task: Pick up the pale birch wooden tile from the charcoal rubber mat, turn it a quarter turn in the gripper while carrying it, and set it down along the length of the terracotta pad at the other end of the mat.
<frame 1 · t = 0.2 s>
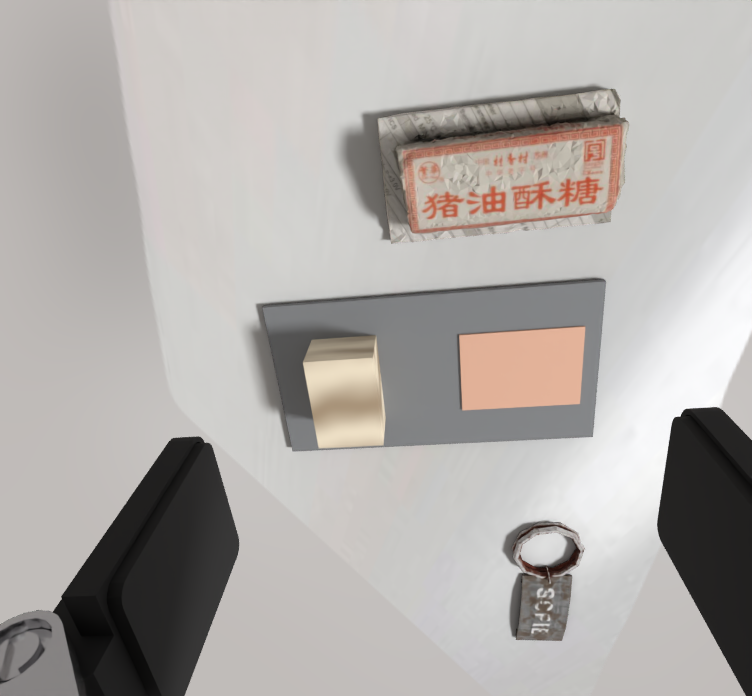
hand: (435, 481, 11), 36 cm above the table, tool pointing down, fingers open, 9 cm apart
keychain: (540, 578, 63), on the table
birch tile: (349, 380, 51), point 1 cm above the table, touching mat
mat: (433, 371, 51), on the table
packaged product: (494, 168, 43), on the table
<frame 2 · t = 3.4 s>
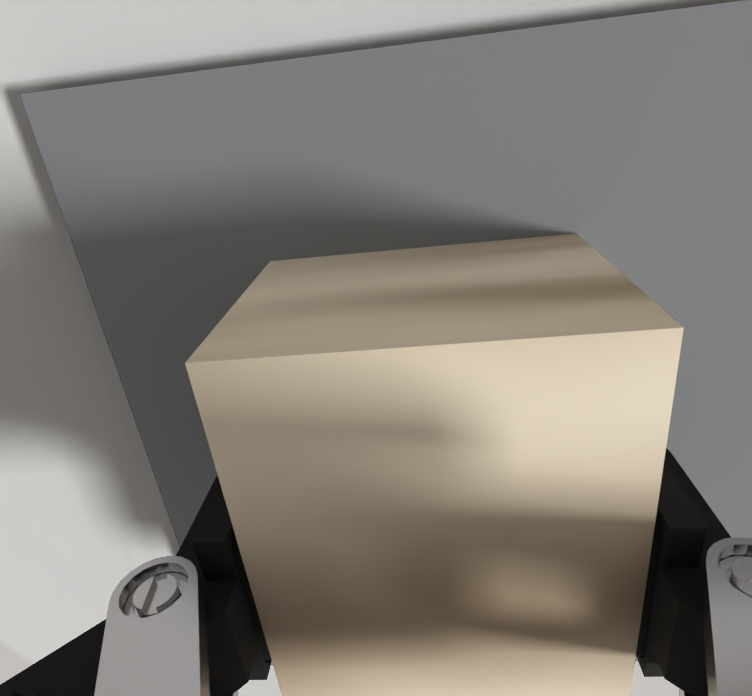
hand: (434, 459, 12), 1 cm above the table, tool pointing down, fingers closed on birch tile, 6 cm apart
birch tile: (433, 437, 12), point 1 cm above the table, touching gripper, mat
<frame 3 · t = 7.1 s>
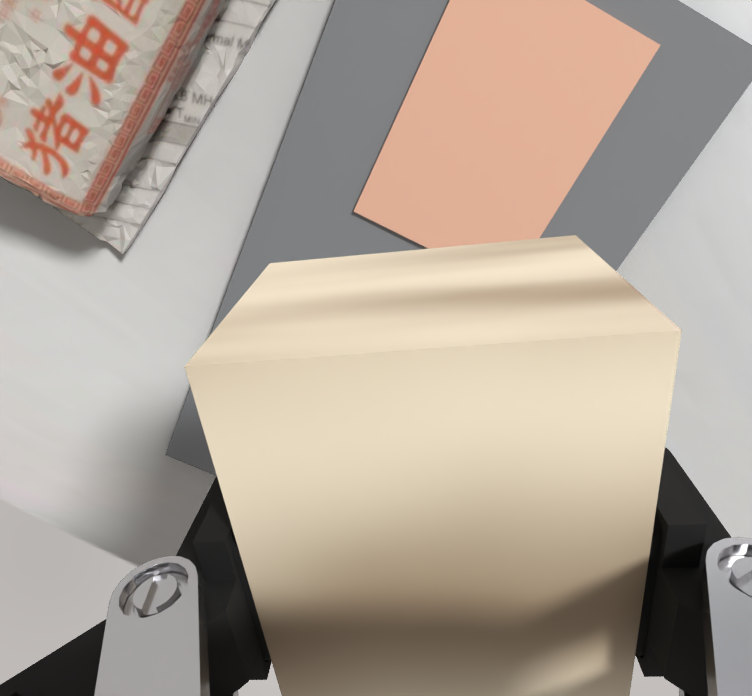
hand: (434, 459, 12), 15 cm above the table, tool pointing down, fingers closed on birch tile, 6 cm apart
birch tile: (433, 439, 12), point 15 cm above the table, touching gripper
mat: (407, 290, 26), on the table
packaged product: (128, 14, 23), on the table
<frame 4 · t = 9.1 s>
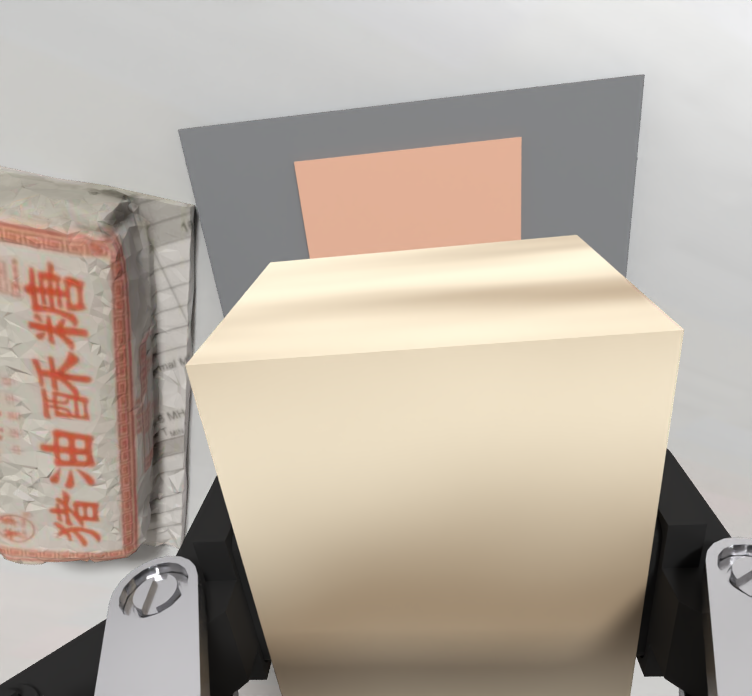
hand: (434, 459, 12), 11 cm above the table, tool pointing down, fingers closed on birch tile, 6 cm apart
birch tile: (433, 438, 12), point 10 cm above the table, touching gripper
mat: (429, 451, 25), on the table
packaged product: (91, 371, 25), on the table
when the fingers open (3 cm above the table, at t = 10.9 s): birch tile drops 1 cm, resting on mat.
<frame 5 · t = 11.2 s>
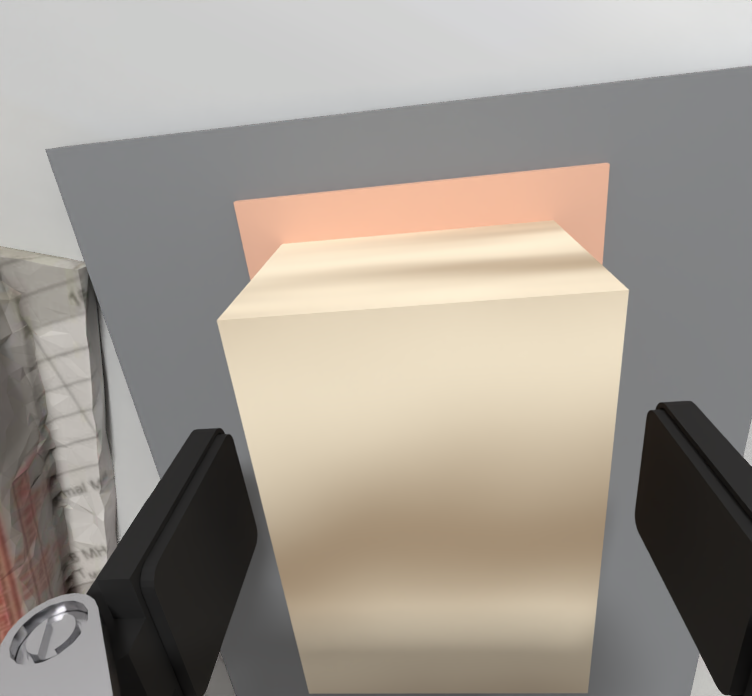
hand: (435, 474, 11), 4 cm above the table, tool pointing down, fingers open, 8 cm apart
birch tile: (427, 406, 14), point 1 cm above the table, touching mat
mat: (446, 597, 18), on the table
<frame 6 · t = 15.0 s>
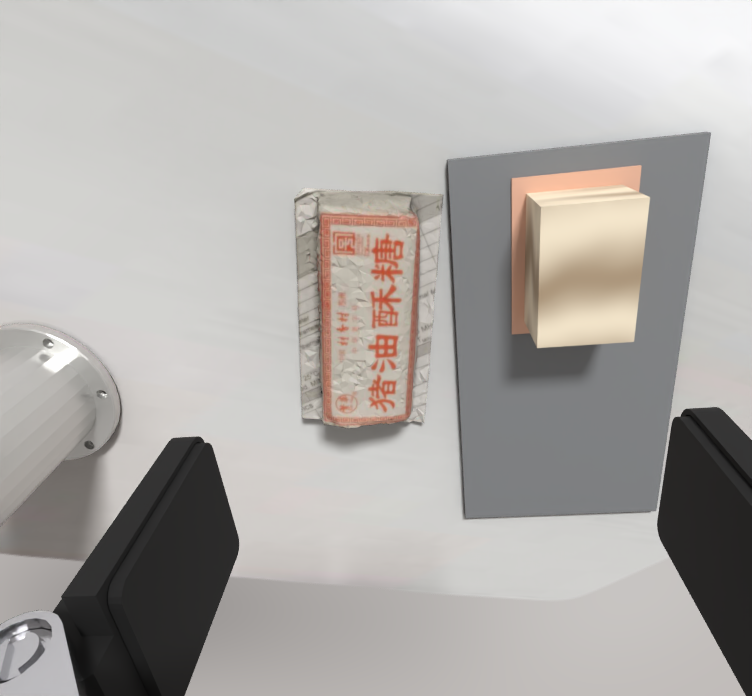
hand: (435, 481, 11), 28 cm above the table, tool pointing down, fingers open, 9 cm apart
birch tile: (570, 257, 37), point 1 cm above the table, touching mat
mat: (564, 356, 41), on the table
packaged product: (366, 310, 41), on the table
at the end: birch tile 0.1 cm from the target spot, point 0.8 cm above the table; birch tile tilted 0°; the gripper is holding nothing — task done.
